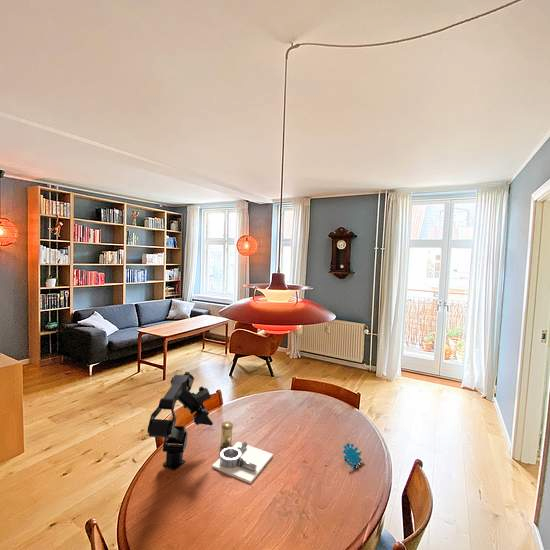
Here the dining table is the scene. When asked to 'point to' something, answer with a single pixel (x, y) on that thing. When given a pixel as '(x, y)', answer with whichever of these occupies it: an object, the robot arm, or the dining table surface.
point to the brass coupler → (226, 434)
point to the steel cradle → (237, 460)
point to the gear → (352, 454)
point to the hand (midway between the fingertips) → (210, 419)
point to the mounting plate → (250, 456)
